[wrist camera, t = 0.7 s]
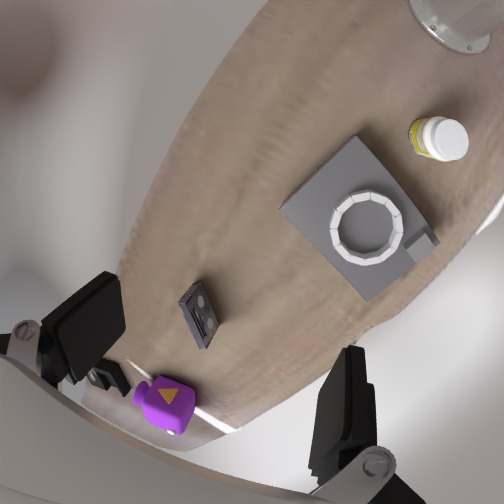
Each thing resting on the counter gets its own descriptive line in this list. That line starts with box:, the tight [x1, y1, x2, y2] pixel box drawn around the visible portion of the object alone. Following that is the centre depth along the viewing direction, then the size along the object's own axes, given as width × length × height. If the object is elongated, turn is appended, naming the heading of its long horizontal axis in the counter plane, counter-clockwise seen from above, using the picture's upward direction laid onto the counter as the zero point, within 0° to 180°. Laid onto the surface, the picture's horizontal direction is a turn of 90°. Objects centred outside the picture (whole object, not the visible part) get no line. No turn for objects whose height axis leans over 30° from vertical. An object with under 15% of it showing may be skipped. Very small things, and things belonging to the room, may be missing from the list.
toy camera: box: [133, 376, 195, 435], centre depth 52 cm, size 11×14×10 cm
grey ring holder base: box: [279, 136, 440, 302], centre depth 30 cm, size 12×16×5 cm
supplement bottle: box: [407, 116, 469, 162], centre depth 23 cm, size 5×5×8 cm
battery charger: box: [86, 358, 131, 397], centre depth 60 cm, size 13×10×4 cm
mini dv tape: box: [178, 282, 219, 349], centre depth 41 cm, size 8×2×6 cm, turn 17°
